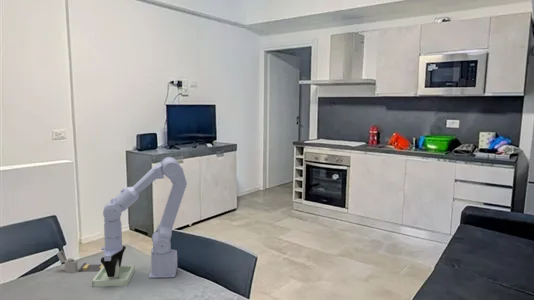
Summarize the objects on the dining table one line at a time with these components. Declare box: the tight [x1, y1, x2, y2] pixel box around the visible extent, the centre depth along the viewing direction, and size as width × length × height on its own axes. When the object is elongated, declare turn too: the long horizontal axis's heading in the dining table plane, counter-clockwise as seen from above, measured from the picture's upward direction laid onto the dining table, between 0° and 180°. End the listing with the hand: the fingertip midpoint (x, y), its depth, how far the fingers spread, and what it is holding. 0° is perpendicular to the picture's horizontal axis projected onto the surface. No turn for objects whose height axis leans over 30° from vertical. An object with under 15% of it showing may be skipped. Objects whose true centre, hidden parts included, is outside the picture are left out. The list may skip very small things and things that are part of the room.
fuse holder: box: [77, 262, 103, 273], centre depth 142 cm, size 10×6×1 cm, turn 96°
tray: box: [91, 265, 136, 288], centre depth 134 cm, size 12×12×2 cm
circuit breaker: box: [56, 250, 79, 274], centre depth 138 cm, size 7×2×8 cm, turn 84°
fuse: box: [109, 260, 119, 280], centre depth 134 cm, size 4×4×6 cm
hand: (114, 271), depth 134 cm, fingers open, 7 cm apart
